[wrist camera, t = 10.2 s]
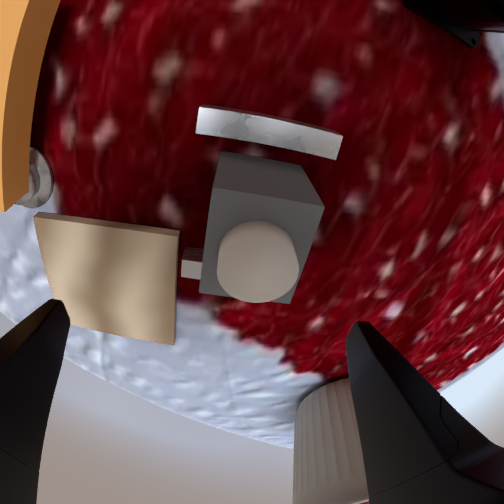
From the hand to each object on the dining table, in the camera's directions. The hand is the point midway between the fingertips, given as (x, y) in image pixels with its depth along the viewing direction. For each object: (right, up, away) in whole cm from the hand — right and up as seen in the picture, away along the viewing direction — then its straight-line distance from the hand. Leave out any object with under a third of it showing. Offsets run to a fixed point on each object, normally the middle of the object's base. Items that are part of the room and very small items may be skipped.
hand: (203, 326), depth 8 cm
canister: (+14, -17, +27) cm, 35 cm away
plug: (+1, +5, +11) cm, 12 cm away
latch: (-13, +11, +4) cm, 18 cm away
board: (-11, 0, +14) cm, 18 cm away
